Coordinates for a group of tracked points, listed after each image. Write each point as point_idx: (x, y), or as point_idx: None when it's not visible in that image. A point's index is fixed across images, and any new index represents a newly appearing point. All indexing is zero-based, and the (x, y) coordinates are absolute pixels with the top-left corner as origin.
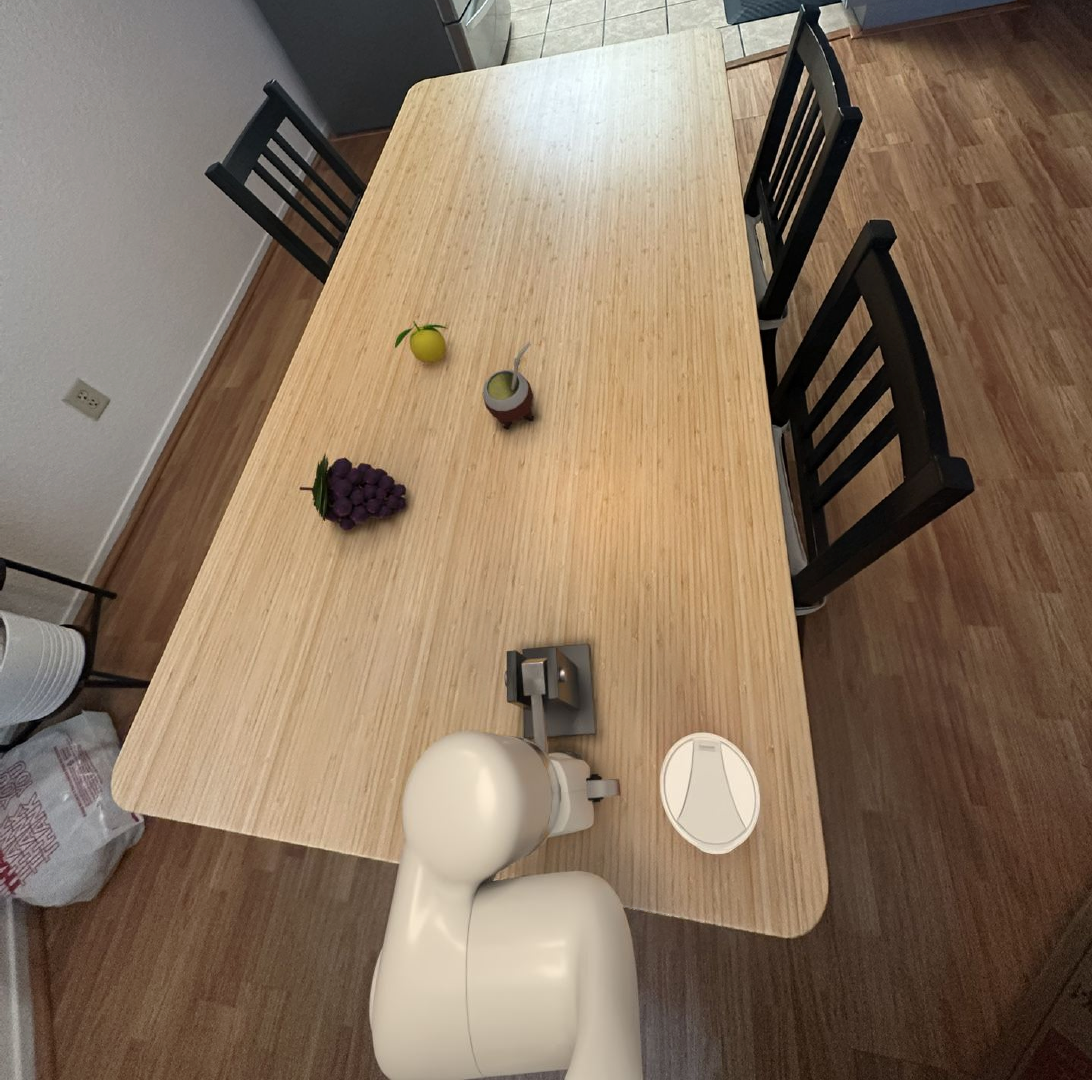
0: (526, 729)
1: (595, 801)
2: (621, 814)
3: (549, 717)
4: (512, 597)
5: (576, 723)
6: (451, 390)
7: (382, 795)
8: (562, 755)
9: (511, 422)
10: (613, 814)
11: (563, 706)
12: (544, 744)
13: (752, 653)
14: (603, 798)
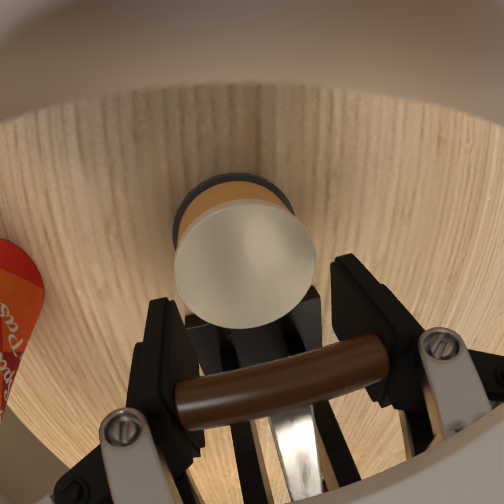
0: (316, 309)
1: (71, 501)
2: (112, 213)
3: (274, 332)
4: (332, 408)
5: (223, 335)
6: (373, 473)
7: (497, 179)
8: (241, 325)
9: (324, 482)
10: (127, 210)
11: (249, 427)
12: (293, 493)
13: (27, 401)
14: (54, 491)
